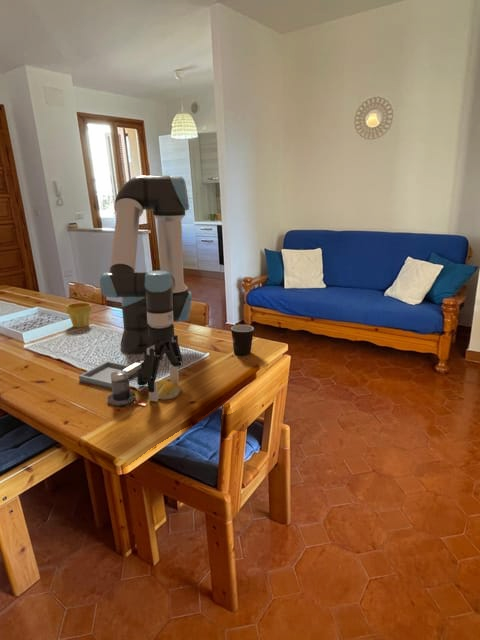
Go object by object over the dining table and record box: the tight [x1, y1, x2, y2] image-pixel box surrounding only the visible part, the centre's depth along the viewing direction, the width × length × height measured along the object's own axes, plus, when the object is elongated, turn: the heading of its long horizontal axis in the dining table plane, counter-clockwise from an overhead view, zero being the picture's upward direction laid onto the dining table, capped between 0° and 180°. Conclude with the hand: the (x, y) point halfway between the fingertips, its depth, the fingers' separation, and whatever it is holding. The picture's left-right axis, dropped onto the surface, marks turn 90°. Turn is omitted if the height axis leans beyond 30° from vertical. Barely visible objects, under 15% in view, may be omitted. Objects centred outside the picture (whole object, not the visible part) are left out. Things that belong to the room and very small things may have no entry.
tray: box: [78, 360, 137, 390], centre depth 138 cm, size 14×14×2 cm
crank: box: [111, 359, 147, 386], centre depth 126 cm, size 14×5×8 cm, turn 156°
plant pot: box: [66, 302, 92, 329], centre depth 189 cm, size 10×10×10 cm
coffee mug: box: [230, 324, 255, 357], centre depth 159 cm, size 12×9×10 cm
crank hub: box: [107, 379, 147, 408], centre depth 121 cm, size 12×8×7 cm, turn 66°
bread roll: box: [156, 379, 180, 401], centre depth 127 cm, size 8×9×4 cm
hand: (164, 392), depth 127 cm, fingers open, 11 cm apart
